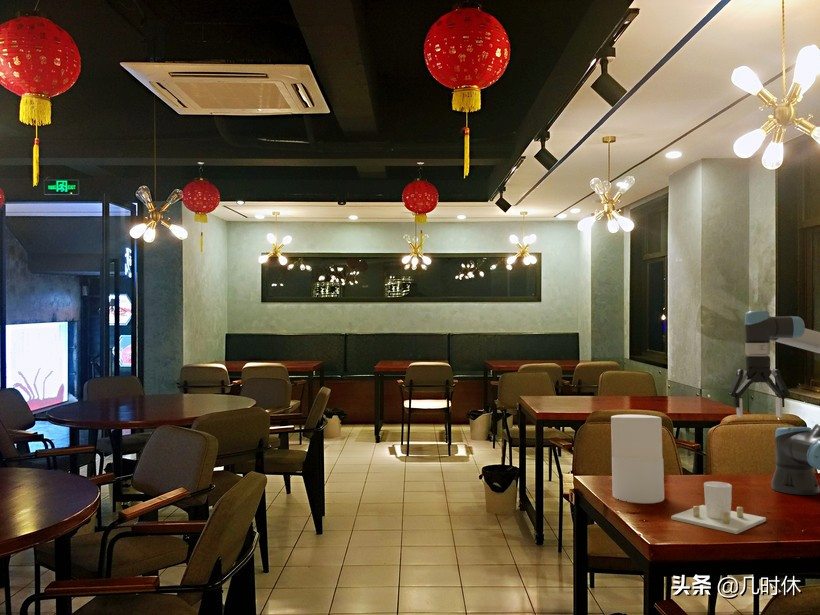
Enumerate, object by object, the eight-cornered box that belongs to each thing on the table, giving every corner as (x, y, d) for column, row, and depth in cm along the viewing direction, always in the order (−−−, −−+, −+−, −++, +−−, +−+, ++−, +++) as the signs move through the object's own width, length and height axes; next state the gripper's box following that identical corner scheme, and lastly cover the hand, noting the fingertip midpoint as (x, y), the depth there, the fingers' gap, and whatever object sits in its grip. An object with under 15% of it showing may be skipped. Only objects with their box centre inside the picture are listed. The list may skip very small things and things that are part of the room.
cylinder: (608, 490, 242) (606, 414, 243) (656, 491, 240) (654, 414, 241) (618, 502, 225) (616, 420, 226) (670, 503, 223) (668, 420, 224)
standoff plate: (766, 520, 202) (765, 507, 202) (736, 534, 189) (736, 520, 190) (702, 507, 218) (702, 495, 218) (671, 519, 205) (670, 506, 205)
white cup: (710, 511, 209) (709, 480, 210) (736, 516, 204) (735, 484, 204) (700, 516, 204) (699, 484, 204) (727, 522, 198) (726, 488, 198)
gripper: (726, 356, 223) (728, 418, 223) (800, 355, 223) (802, 418, 223) (716, 355, 231) (718, 415, 230) (787, 354, 231) (789, 415, 230)
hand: (759, 417), depth 226 cm, fingers open, 13 cm apart
